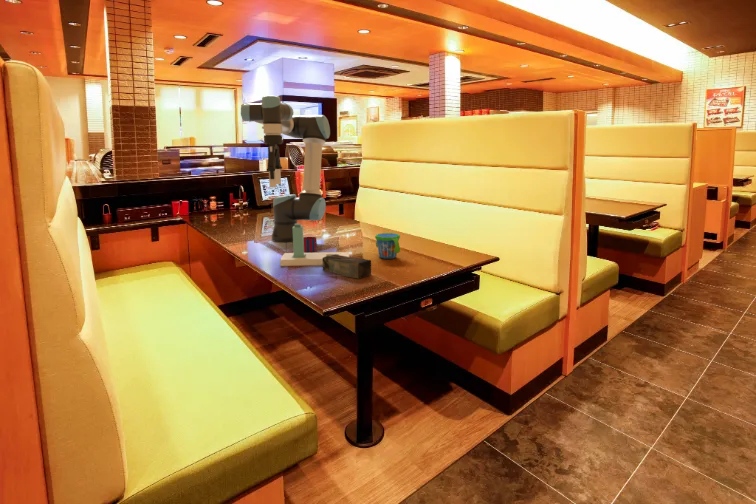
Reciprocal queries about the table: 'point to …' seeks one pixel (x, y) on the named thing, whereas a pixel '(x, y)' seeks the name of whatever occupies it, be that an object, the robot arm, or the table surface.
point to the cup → (310, 244)
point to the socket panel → (307, 258)
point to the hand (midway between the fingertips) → (275, 185)
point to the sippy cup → (388, 245)
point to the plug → (298, 241)
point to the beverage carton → (347, 266)
